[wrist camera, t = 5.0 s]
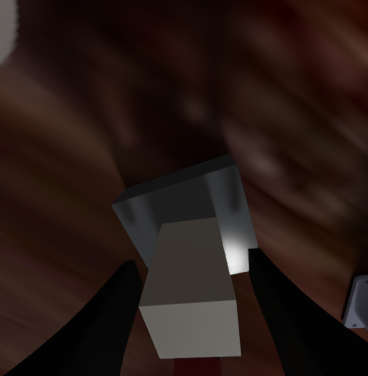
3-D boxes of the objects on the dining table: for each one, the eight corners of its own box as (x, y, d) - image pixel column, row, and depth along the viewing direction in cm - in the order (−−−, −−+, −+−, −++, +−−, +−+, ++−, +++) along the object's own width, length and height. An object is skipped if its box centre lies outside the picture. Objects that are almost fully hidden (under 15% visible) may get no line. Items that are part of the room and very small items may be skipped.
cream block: (216, 217, 12) (235, 299, 7) (221, 259, 14) (241, 355, 8) (162, 223, 13) (138, 306, 7) (172, 264, 14) (160, 358, 9)
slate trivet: (228, 153, 14) (237, 164, 11) (252, 242, 17) (263, 267, 14) (125, 188, 15) (111, 204, 12) (165, 263, 18) (160, 289, 16)
